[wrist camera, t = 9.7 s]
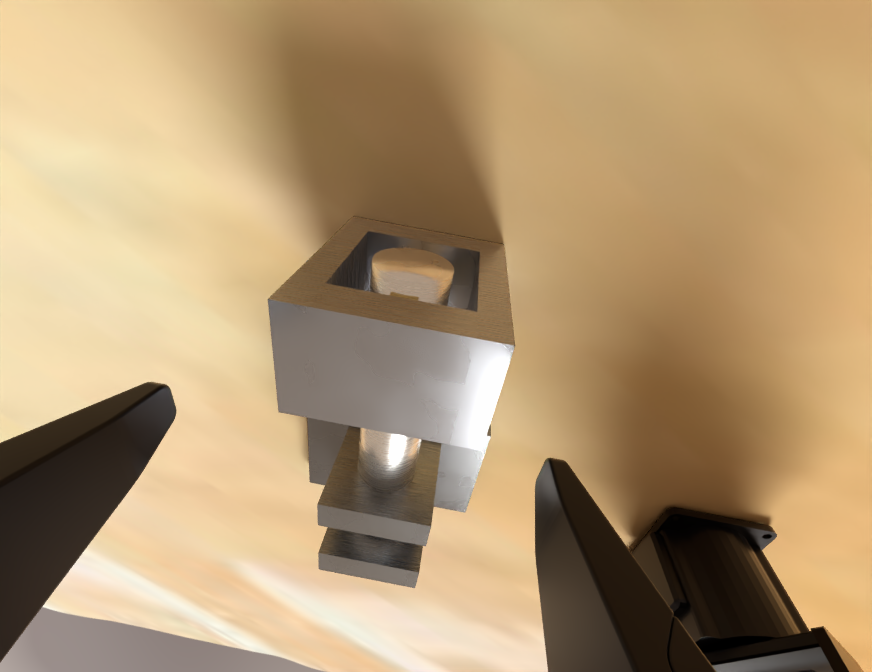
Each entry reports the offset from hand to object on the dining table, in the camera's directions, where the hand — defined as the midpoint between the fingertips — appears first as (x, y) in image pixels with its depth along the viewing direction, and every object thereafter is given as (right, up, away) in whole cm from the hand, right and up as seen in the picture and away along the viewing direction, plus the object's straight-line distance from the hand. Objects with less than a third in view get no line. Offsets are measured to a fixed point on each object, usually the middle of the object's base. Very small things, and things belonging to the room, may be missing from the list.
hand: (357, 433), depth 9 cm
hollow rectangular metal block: (+1, +5, +8) cm, 10 cm away
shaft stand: (0, 0, +11) cm, 11 cm away
